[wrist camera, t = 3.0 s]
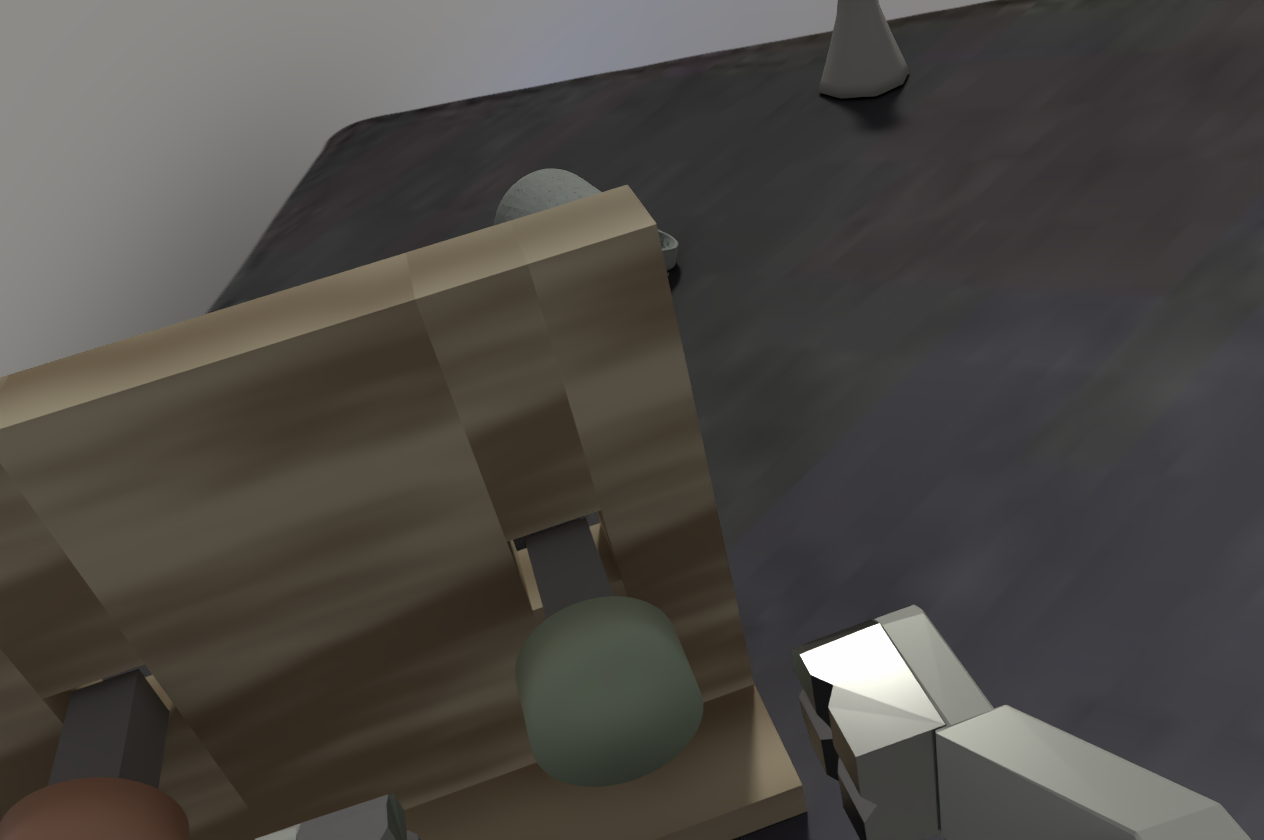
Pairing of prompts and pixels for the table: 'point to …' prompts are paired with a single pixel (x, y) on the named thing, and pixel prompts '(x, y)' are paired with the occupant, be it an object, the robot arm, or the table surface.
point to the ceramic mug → (559, 201)
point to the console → (379, 539)
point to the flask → (862, 53)
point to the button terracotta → (104, 771)
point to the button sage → (600, 671)
